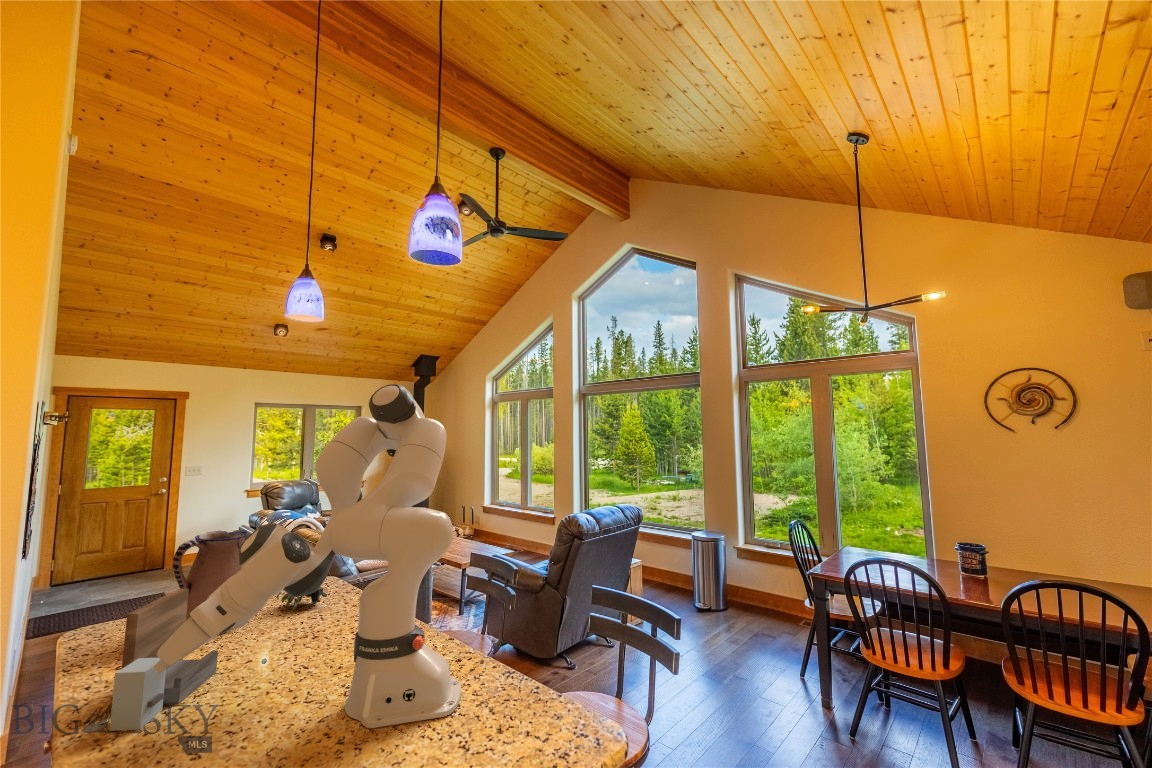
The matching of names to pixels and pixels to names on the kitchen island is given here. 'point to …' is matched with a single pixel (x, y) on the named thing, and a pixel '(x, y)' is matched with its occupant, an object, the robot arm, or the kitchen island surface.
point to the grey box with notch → (137, 694)
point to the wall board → (153, 630)
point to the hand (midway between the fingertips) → (175, 657)
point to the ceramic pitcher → (208, 564)
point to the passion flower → (313, 596)
